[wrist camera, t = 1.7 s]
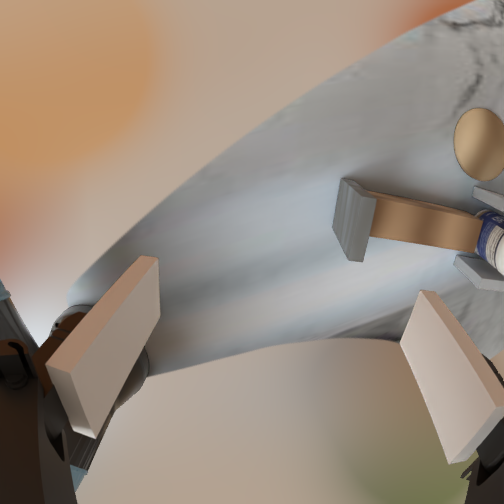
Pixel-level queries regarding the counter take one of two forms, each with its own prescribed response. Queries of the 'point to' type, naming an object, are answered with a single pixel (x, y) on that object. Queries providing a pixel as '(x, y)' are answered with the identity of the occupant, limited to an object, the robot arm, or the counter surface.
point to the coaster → (480, 144)
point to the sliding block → (398, 221)
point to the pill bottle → (491, 239)
